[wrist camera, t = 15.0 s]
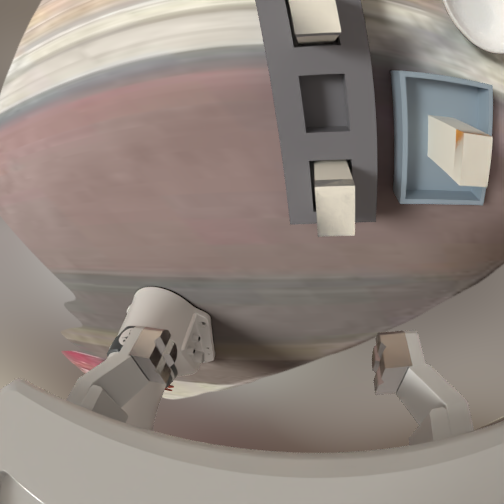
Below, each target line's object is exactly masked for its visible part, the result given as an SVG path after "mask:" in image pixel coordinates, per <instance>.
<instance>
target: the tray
mask: <svg viewBox="0 0 504 504" xmlns="http://www.w3.org/2000/svg"><path fill="white" fill-rule="evenodd" d="M390 73H391V83H392V96H393V114H394V184H393V192H394V194H395V196H396V197H397V199H398V201H399V203H400V204H460V205H483V202H484V197H485V191H486V187H477V186H459V185H458V184H457V183H456V182H455V181H454V180H453V179H452V178H451V177H450V176H449V175H448V174H447V173H446V172H445V171H444V170H443V169H442V168H440V167H439V166H438V165H437V164H436V163H435V162H434V161H433V160H432V159H430V158H429V157H428V156H427V155H428V115H433V116H443V117H452V118H455V119H457V120H460V121H462V122H464V123H466V124H468V125H470V126H472V127H474V128H476V129H478V130H480V131H482V132H484V133H486V134H488V135H490V136H492V122H493V89H492V85H489V84H485V83H480V82H476V81H471V80H466V79H461V78H455V77H449V76H443V75H436V74H429V73H420V72H410V71H397V70H390Z"/></svg>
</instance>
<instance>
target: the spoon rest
mask: <svg viewBox="0 0 504 504" xmlns="http://www.w3.org/2000/svg"><path fill="white" fill-rule="evenodd" d="M442 1H443V4H444V6H445V8H446V10H447V12H448V14H449V16H450V18H451V19H452V21H453V22H454V24H455V25H456V27H457V28H458V29H459V30H460V31H461V33H462V34H463V35H464V36H465V37H466V38H467V39H468V40H469V41H471V42H472V43H473V44H474V45H476V46H477V47H479V48H481V49H483V50H485V51H488V52H491V53H496V54H504V0H442Z"/></svg>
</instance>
